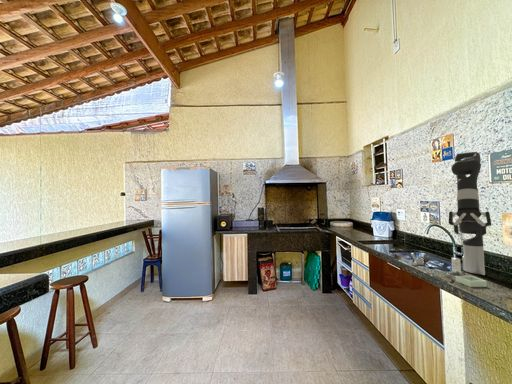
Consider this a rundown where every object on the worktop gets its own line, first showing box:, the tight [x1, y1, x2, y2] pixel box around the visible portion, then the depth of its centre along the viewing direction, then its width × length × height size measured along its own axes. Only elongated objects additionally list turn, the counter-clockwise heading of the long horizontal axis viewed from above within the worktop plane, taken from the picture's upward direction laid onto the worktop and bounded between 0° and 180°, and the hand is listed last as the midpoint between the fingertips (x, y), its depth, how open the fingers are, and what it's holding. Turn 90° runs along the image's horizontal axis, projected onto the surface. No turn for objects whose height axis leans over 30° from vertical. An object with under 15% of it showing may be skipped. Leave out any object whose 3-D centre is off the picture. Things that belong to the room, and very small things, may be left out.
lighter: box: [410, 252, 424, 266], centre depth 165 cm, size 7×2×8 cm, turn 78°
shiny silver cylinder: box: [451, 257, 463, 276], centre depth 131 cm, size 4×4×11 cm
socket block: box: [444, 272, 466, 282], centre depth 131 cm, size 7×7×3 cm
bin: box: [455, 275, 488, 288], centre depth 122 cm, size 9×9×4 cm
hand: (469, 234), depth 105 cm, fingers open, 8 cm apart
